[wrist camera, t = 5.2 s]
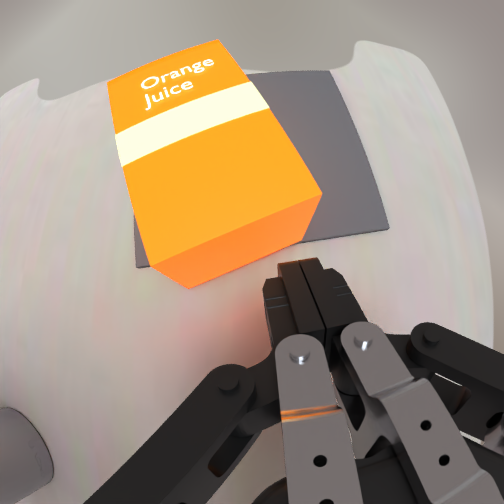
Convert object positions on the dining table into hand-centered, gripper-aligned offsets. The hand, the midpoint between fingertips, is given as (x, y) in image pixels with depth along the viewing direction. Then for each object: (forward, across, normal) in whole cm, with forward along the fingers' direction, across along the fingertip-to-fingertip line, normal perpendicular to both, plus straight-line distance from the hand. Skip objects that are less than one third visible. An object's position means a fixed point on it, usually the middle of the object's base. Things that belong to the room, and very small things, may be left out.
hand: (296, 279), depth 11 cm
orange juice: (+6, +2, +2) cm, 6 cm away
